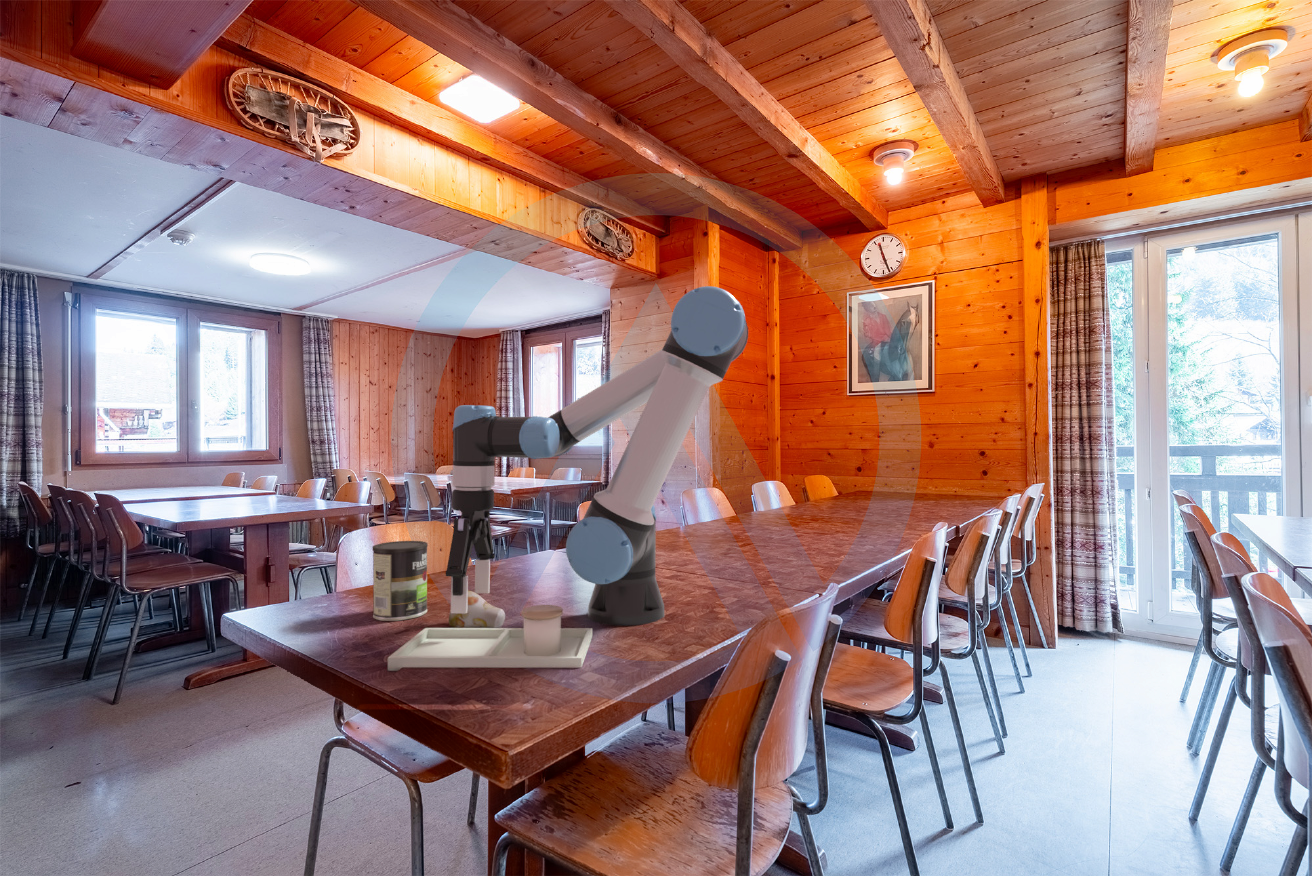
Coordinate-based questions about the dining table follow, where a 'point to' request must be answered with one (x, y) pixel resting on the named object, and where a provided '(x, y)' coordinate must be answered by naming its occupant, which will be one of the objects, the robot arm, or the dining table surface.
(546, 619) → the sugar pot
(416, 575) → the coffee can
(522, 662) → the caddy
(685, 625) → the dining table surface
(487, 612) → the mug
